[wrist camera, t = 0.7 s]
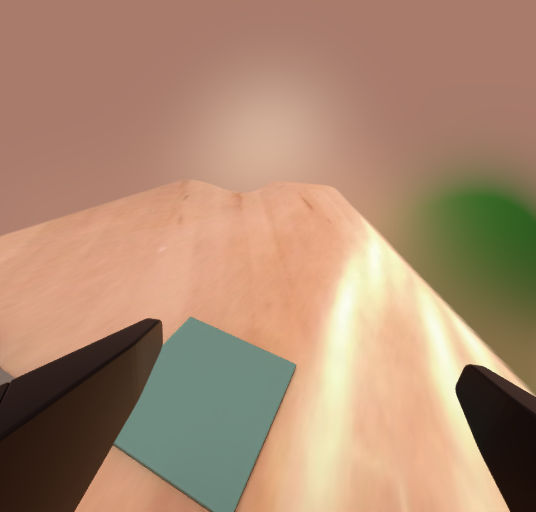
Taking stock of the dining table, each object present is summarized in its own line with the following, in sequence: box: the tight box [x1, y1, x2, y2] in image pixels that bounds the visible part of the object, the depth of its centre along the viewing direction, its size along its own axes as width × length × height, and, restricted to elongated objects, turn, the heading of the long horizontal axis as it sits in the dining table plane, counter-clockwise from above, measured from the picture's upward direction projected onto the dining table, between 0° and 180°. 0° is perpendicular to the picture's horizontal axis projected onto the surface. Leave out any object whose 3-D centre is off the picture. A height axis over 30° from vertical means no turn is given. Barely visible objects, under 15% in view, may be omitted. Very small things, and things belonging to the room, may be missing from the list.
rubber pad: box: [113, 317, 296, 512], centre depth 23 cm, size 12×12×1 cm
